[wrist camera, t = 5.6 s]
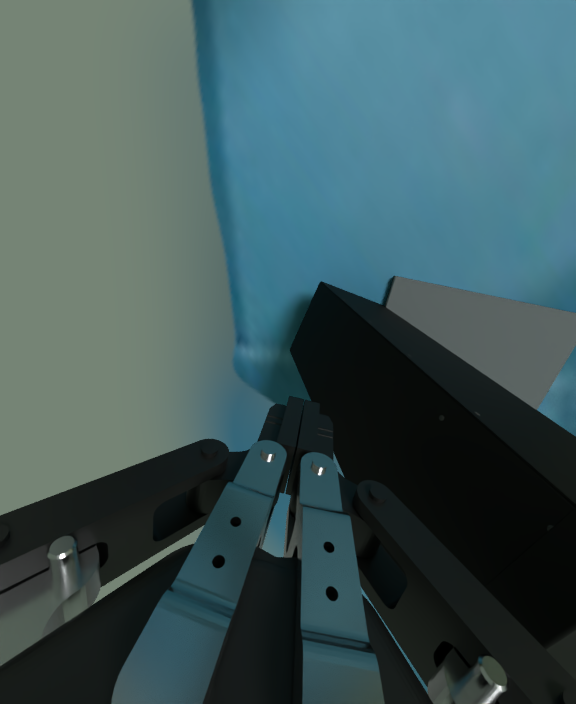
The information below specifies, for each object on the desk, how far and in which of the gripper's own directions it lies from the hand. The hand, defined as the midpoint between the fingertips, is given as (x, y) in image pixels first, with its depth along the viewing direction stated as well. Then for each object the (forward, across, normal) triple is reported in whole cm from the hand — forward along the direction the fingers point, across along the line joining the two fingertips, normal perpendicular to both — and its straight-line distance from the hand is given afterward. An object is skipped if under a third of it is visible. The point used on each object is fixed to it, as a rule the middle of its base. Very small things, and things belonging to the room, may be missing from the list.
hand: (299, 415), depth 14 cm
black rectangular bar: (+18, -2, 0) cm, 18 cm away
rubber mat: (+19, -16, 0) cm, 25 cm away
